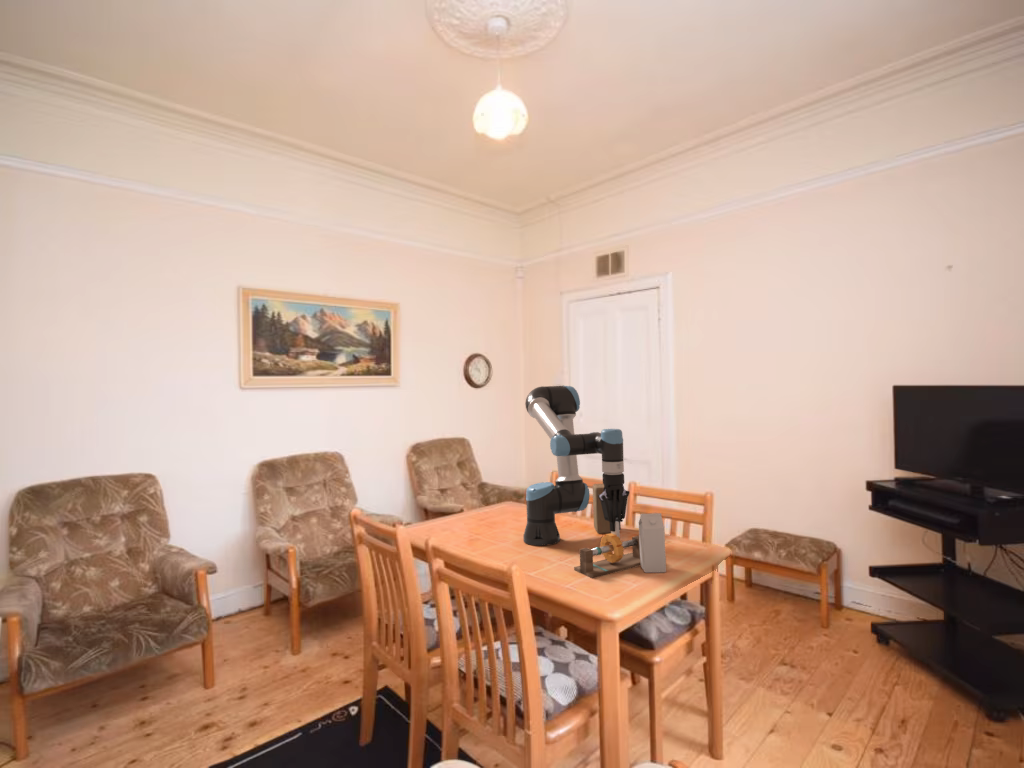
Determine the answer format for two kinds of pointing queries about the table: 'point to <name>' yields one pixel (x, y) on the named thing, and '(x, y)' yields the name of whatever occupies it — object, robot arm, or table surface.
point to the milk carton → (652, 543)
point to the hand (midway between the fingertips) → (615, 540)
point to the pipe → (610, 547)
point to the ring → (616, 544)
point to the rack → (607, 562)
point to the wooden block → (599, 511)
